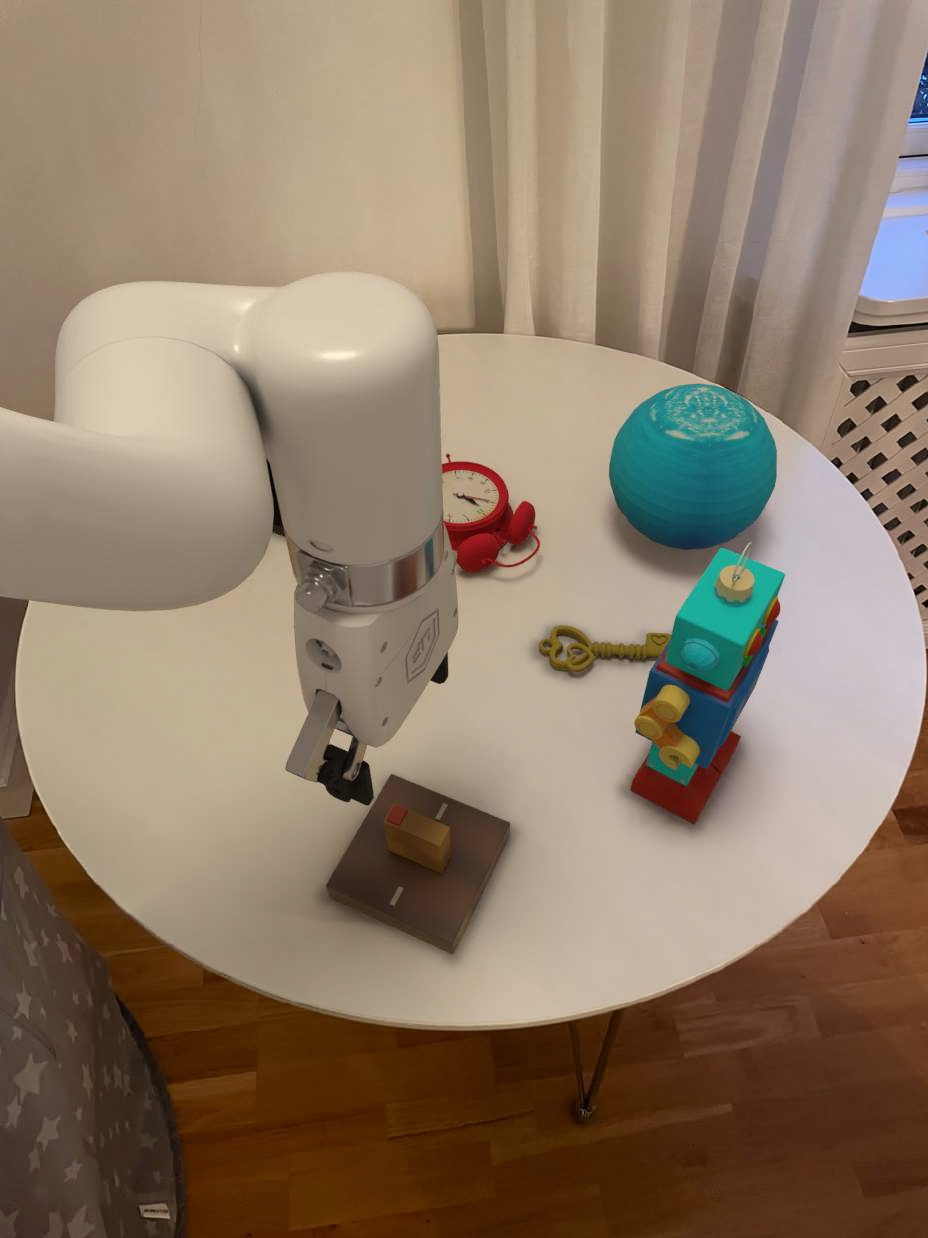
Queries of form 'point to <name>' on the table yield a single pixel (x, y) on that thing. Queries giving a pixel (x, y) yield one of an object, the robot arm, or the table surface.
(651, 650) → the key
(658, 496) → the decorative orb
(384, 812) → the plate
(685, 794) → the toy robot
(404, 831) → the thumbturn
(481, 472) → the alarm clock
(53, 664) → the table surface
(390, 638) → the robot arm
